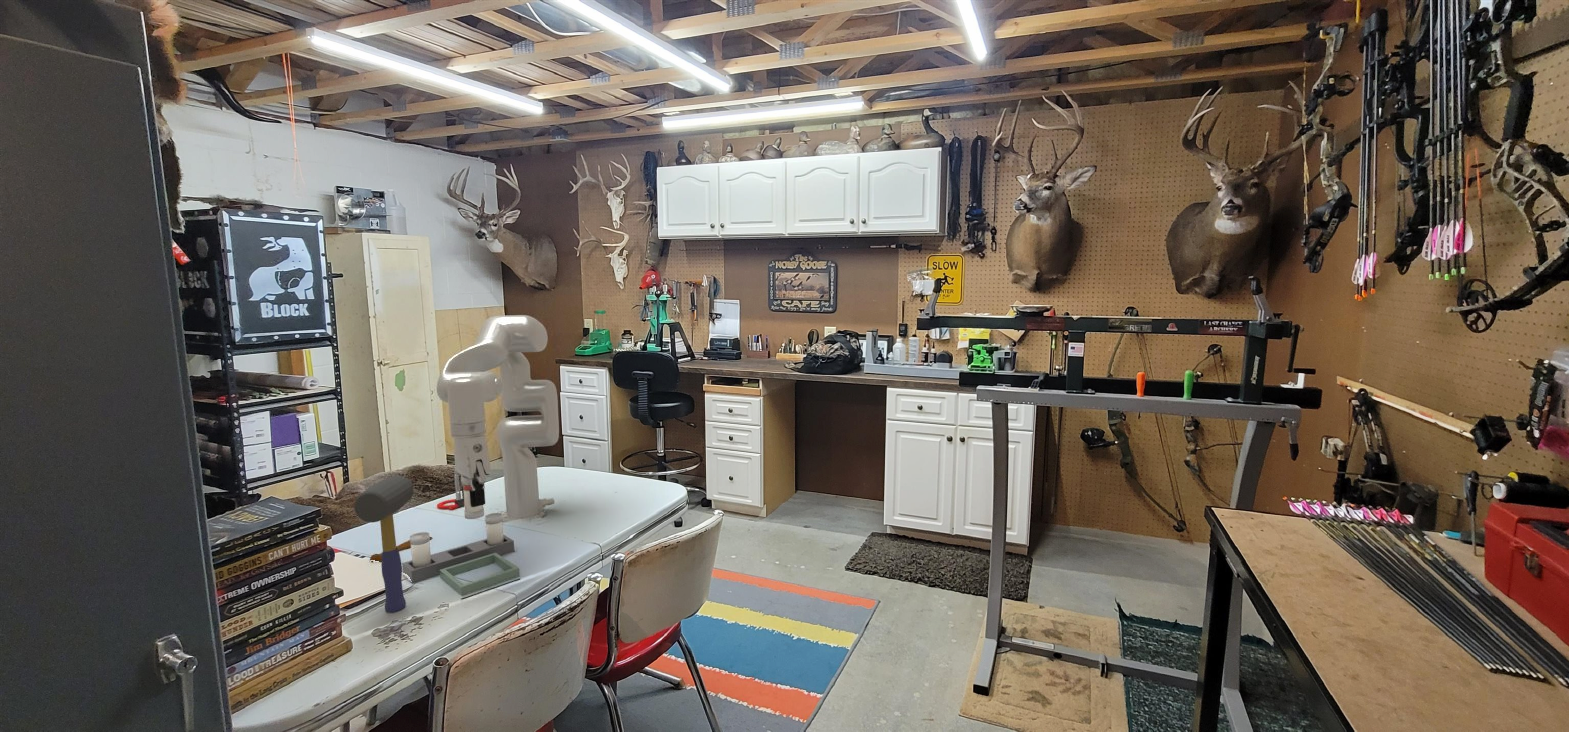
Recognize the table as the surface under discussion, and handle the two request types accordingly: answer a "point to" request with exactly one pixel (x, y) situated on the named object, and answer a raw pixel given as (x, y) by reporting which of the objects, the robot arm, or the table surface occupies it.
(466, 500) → the cylinder
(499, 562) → the tray
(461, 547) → the fuse holder
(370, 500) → the rubber mallet
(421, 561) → the cylinder
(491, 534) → the cylinder
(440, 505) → the tow hook
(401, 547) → the primitive tool
